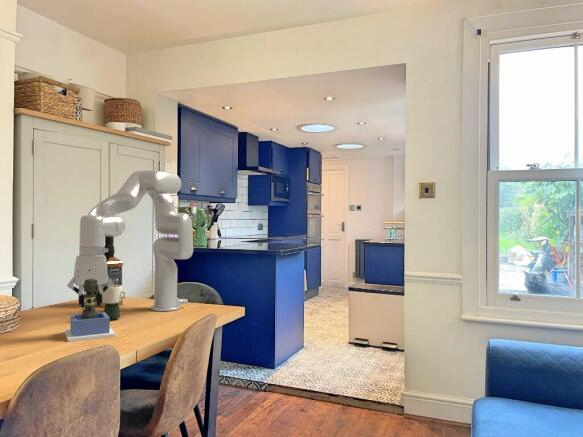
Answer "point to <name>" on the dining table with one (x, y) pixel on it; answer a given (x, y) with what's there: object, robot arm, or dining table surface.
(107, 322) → the socket block
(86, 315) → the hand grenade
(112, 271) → the whiskey bottle
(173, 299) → the robot arm
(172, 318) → the dining table surface
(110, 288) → the character mug
